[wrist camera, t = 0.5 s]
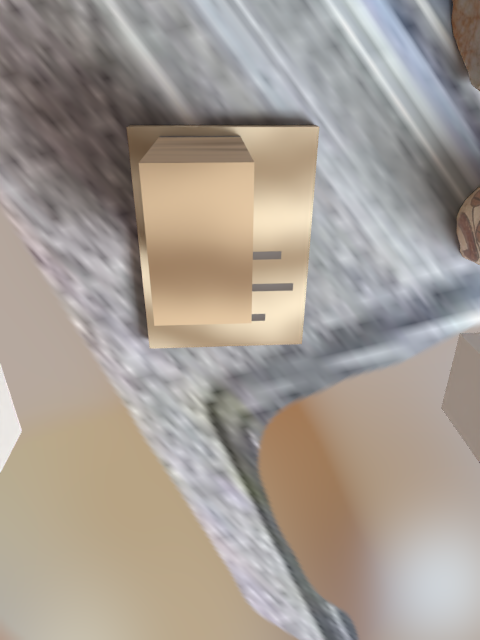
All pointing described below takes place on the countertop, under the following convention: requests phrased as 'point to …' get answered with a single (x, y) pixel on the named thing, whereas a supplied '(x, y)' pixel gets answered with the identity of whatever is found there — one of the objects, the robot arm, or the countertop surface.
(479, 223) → the figurine
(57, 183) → the countertop surface
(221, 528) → the countertop surface
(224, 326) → the board
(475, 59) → the stone
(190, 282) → the block
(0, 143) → the countertop surface
